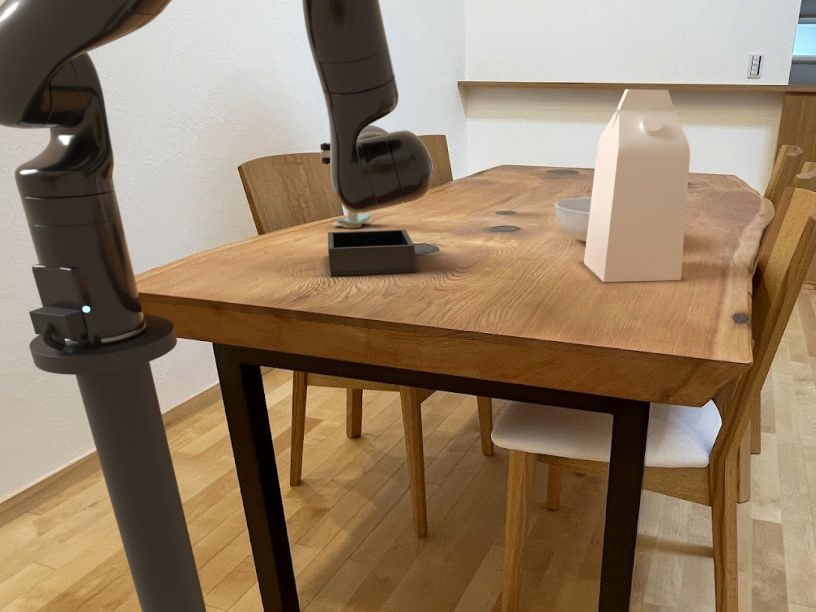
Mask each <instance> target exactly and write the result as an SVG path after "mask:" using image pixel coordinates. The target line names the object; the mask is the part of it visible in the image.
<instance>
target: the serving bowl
mask: <svg viewBox="0 0 816 612" xmlns="http://www.w3.org/2000/svg"><path fill="white" fill-rule="evenodd" d="M591 198H592V196H584V197H583V196H580V197H570V198H564V199H559V200H557V201H556V202H554V214H555V217H556V221H557V223H558V225H559V227H560V228H561V229H562V231H564V233H566V234H567V236H570V237H572V238H574V239H576V240H578V241H582V242H584V243H586V240H587V232H588V223H589V215H590V206H591Z"/></svg>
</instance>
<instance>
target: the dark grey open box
mask: <svg viewBox="0 0 816 612" xmlns="http://www.w3.org/2000/svg"><path fill="white" fill-rule="evenodd" d="M415 246H416V245H415V244H414V242H413V241H412V239H411V237H410V234H408V231H407V230H406V229H382V230H381V229H380V230H354V231H353V230H352V231H350V230H349V231H328V232H327V252H328V263H329V273H330V277H351V276H367V275H389V274H407V273H409V274H410V273H416V272H417V268H416V250H415V249H416V247H415Z"/></svg>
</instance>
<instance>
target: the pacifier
mask: <svg viewBox="0 0 816 612" xmlns="http://www.w3.org/2000/svg"><path fill="white" fill-rule="evenodd" d="M344 210H346V217H336V216H333V219H334V220H336V221H335V222H334V223H333V224H332V225H333V226H335V227H340V228H341V227H342V228H345V229H357V228H361V227H362V225H363V224H364V223H366V222H368V221H369V220H370V219H371V214H370V213H368V212H366V213H360V214H358V213H355V212H352V211H350V210H348V209H347V208H345V207H344Z"/></svg>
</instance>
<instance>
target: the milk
mask: <svg viewBox="0 0 816 612" xmlns="http://www.w3.org/2000/svg"><path fill="white" fill-rule="evenodd" d="M670 94H671V93H670V91H669V89H638V88H637V89H636V88H635V89H634V88H633V89H630V88H626V89H624V92H623V94H622V96H621V99H620V101H619V103H618V106H617V107H616V110H615V111H614V113H613V114H612V117H611V118H610V120H609V122H608V123H607V125H606V127H605V129H604V130H603V133H602V134H601V136H600V138H599V141H598V143H597V149H596V155H595V164H594V172H593V182H592V191H591V197H592V198H591V206H590V215H589V223H588V232H587V240H586V242H585V250H584V256H583V257H584V259H583V264H584V265H585V266H586V268H588V270H590V271H591V272H592V273H593V274H594V275H595V276H597V278H598V279H600V280H601V281H602V282H603V283H617V282H620V283H621V282H622V283H623V282H625V283H626V282H654V281H656V282H657V281H658V282H659V281H661V282H662V281H681V280H682V270H683V258H684V257H683V255H684V243H685V229H686V215H687V204H688V202H687V201H688V189H689V175H690V163H691V150H690V149H691V148H690V144H689V141H688V138H687V136H686V133H685V131H684V129H683V127H682V125H681V121H680V120H679V118H678V115H677V113H676V111H675V108H674V107H675V106H674V104H673V100H672V98H671V95H670Z"/></svg>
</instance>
